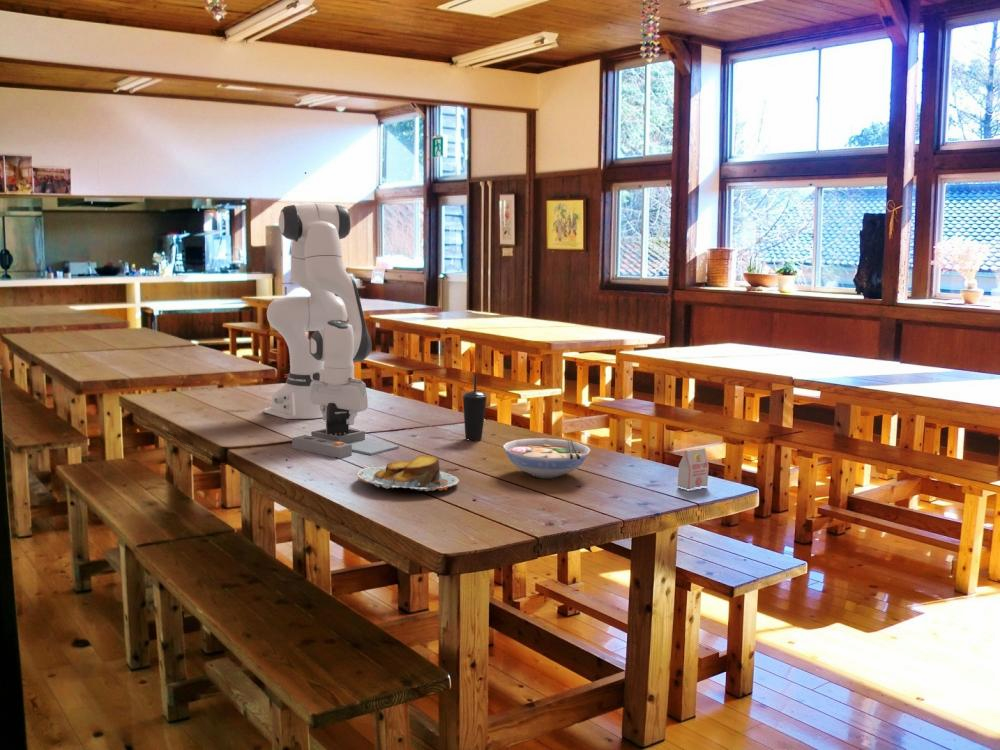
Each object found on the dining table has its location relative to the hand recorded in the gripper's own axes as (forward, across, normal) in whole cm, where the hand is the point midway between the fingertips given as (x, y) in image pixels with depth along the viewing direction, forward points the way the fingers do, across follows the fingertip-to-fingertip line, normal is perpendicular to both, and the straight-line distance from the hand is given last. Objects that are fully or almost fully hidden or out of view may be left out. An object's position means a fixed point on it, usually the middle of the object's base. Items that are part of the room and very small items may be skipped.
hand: (338, 422), depth 284 cm
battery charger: (+5, 0, 0) cm, 5 cm away
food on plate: (+6, -47, +25) cm, 53 cm away
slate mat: (+5, -14, +2) cm, 15 cm away
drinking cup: (+5, -29, -28) cm, 41 cm away
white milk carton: (+5, -103, -20) cm, 105 cm away
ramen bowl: (+5, -68, -6) cm, 68 cm away
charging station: (+5, -5, +5) cm, 9 cm away
